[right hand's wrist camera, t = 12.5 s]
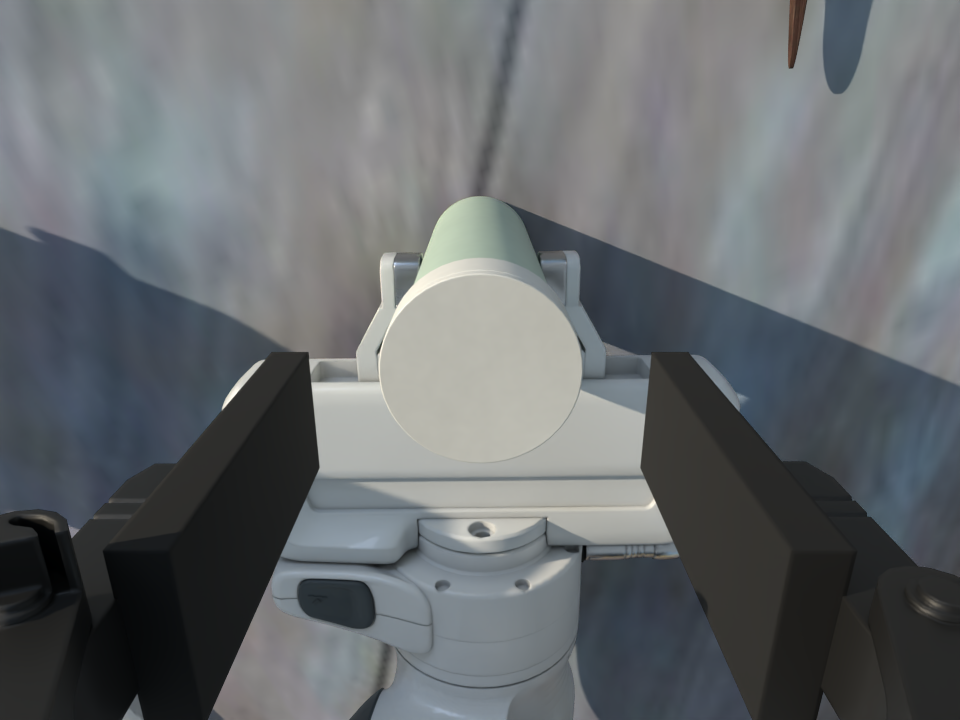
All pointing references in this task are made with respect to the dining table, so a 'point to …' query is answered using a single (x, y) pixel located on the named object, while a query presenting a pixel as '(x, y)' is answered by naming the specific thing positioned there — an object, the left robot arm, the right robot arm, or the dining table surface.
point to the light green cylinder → (480, 236)
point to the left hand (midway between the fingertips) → (478, 254)
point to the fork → (795, 28)
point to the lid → (480, 361)
